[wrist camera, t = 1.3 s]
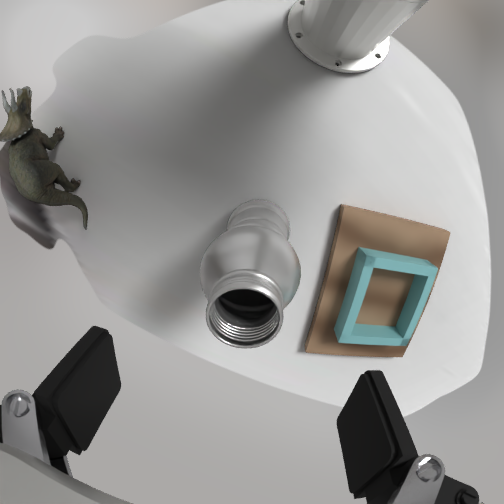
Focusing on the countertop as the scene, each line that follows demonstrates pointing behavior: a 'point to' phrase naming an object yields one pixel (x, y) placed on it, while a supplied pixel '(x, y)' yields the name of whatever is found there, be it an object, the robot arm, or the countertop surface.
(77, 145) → the countertop surface
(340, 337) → the walnut jig board
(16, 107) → the dinosaur figurine
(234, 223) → the silver aluminum bottle
